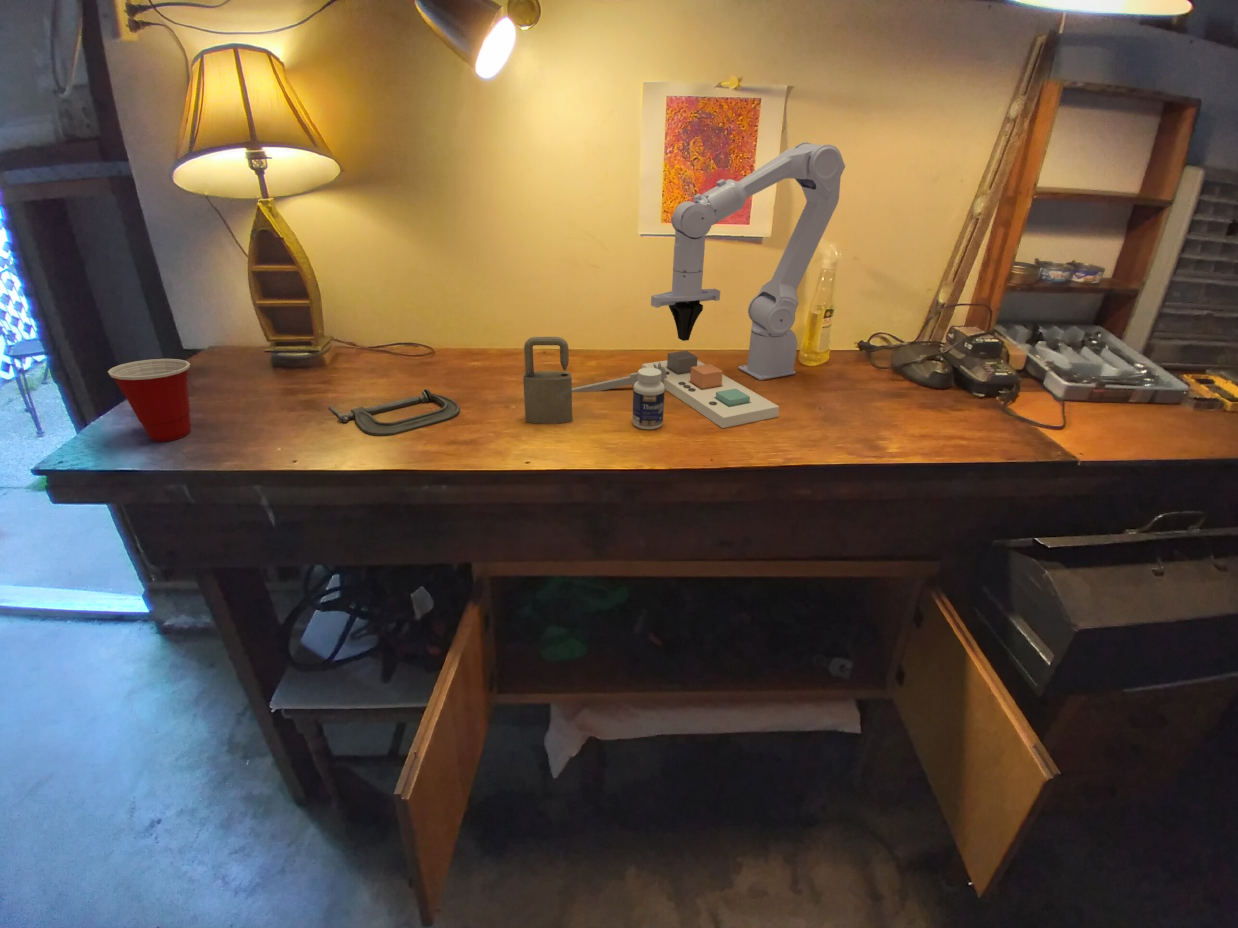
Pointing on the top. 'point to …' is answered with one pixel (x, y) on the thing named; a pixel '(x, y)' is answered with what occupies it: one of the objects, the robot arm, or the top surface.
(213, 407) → the top surface
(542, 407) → the padlock
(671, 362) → the button two
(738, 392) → the button one
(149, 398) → the plastic cup
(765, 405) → the button panel
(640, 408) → the pill bottle
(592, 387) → the caliper
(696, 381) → the button three
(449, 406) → the c clamp
